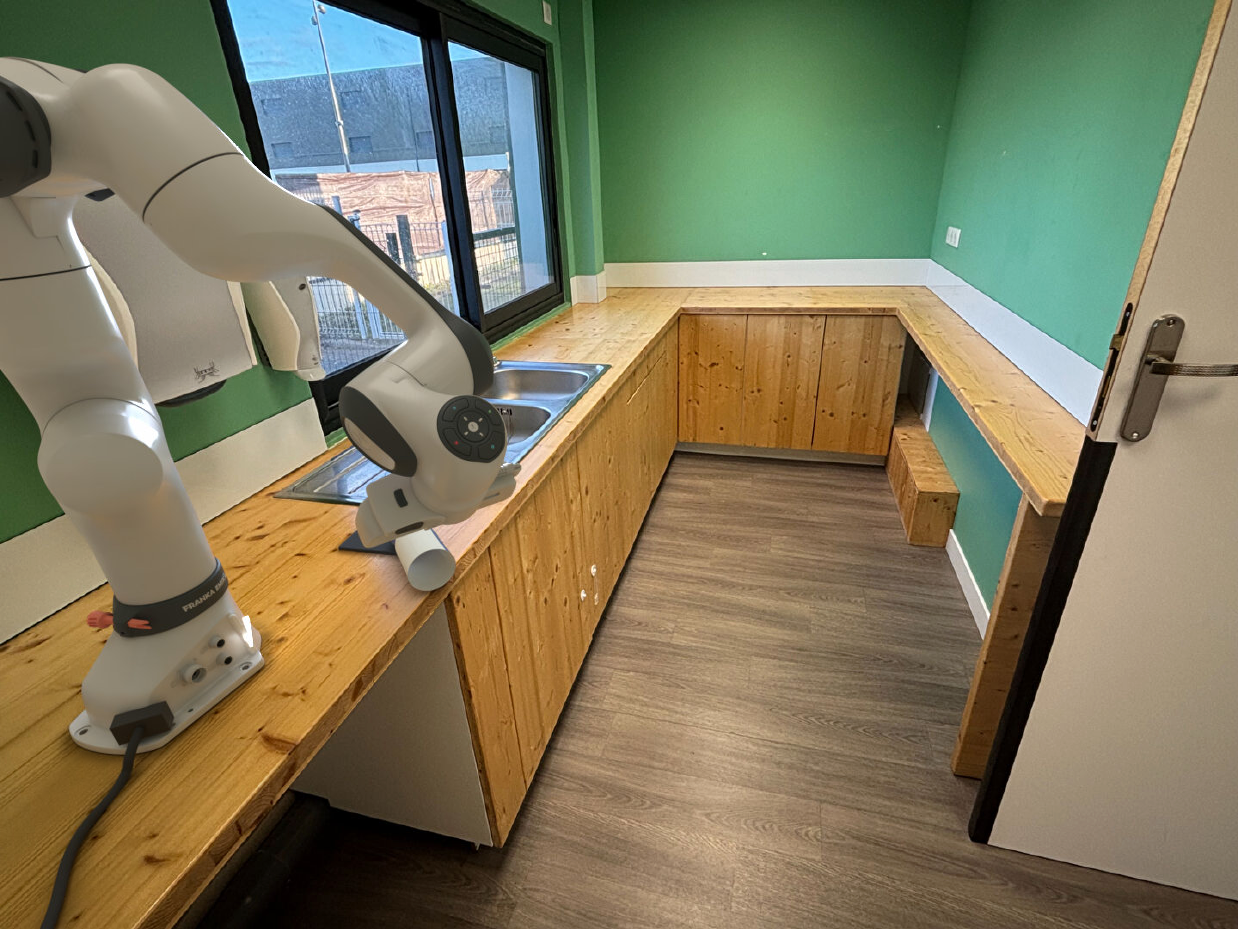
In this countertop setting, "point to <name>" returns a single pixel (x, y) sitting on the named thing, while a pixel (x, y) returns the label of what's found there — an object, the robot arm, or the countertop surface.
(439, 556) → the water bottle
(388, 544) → the mat
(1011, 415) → the countertop surface
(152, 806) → the countertop surface
